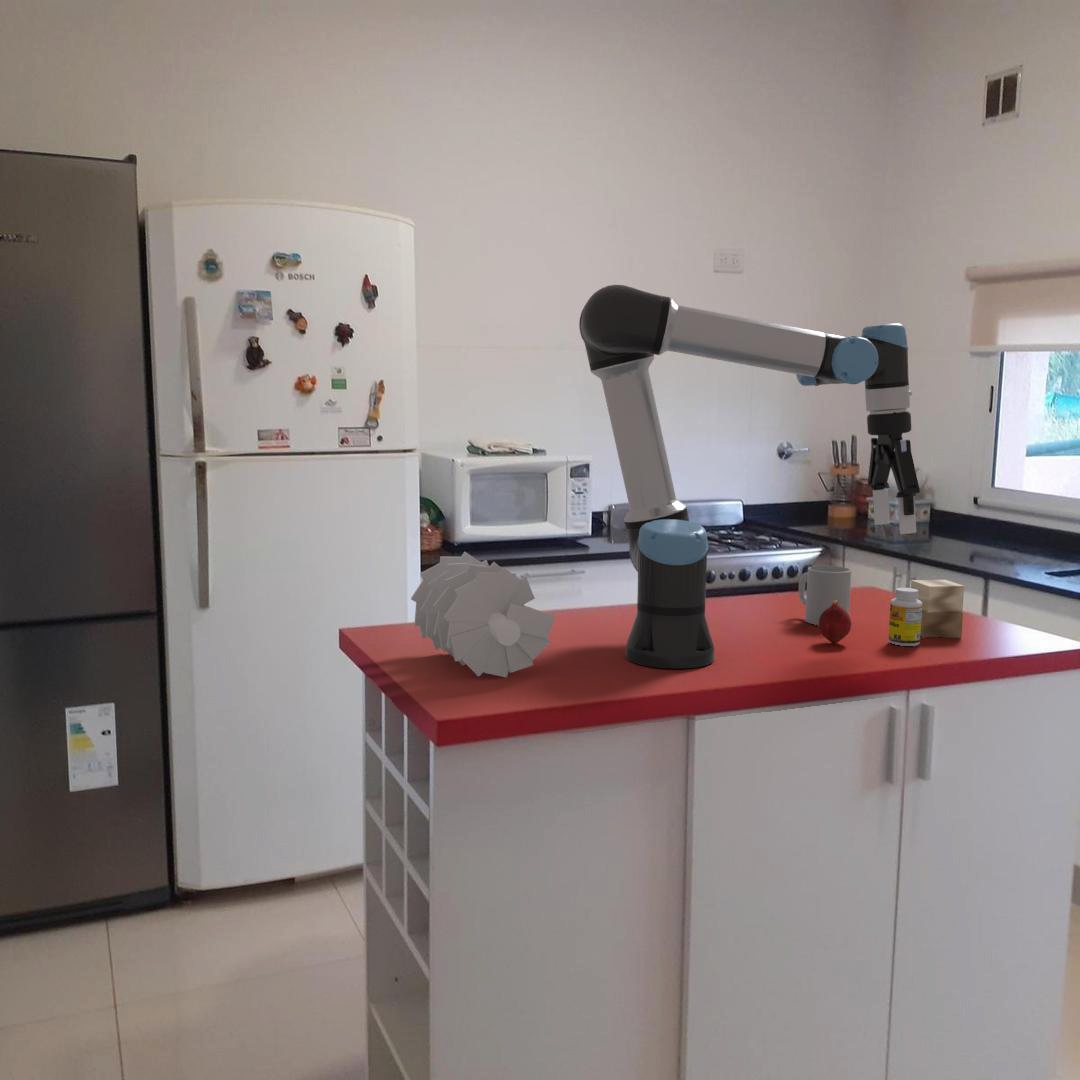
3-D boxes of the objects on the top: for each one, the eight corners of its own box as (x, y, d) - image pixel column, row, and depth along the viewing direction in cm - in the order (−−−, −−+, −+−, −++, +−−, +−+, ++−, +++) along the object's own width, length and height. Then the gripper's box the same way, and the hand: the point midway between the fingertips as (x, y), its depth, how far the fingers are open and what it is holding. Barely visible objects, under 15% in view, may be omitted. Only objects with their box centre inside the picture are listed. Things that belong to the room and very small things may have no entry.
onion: (851, 648, 198) (853, 604, 197) (818, 646, 199) (820, 603, 198) (849, 641, 204) (851, 598, 203) (817, 639, 205) (819, 597, 204)
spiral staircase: (480, 709, 172) (430, 664, 195) (573, 653, 178) (513, 616, 200) (434, 610, 166) (387, 576, 189) (532, 556, 171) (475, 529, 194)
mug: (858, 624, 219) (860, 570, 217) (827, 628, 214) (830, 573, 213) (813, 613, 229) (815, 561, 227) (783, 618, 224) (785, 565, 223)
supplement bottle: (883, 640, 205) (886, 586, 203) (913, 640, 205) (916, 586, 203) (894, 647, 199) (897, 592, 198) (924, 647, 199) (927, 592, 198)
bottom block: (922, 638, 207) (923, 612, 207) (908, 630, 215) (909, 604, 214) (961, 638, 207) (963, 612, 207) (946, 630, 215) (947, 605, 214)
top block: (928, 612, 207) (929, 586, 206) (910, 605, 214) (911, 580, 213) (962, 611, 208) (964, 585, 207) (943, 604, 215) (945, 579, 214)
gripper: (935, 410, 184) (941, 535, 187) (885, 408, 209) (891, 518, 212) (891, 415, 184) (898, 539, 187) (846, 412, 209) (853, 522, 212)
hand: (894, 528), depth 199 cm, fingers open, 13 cm apart
